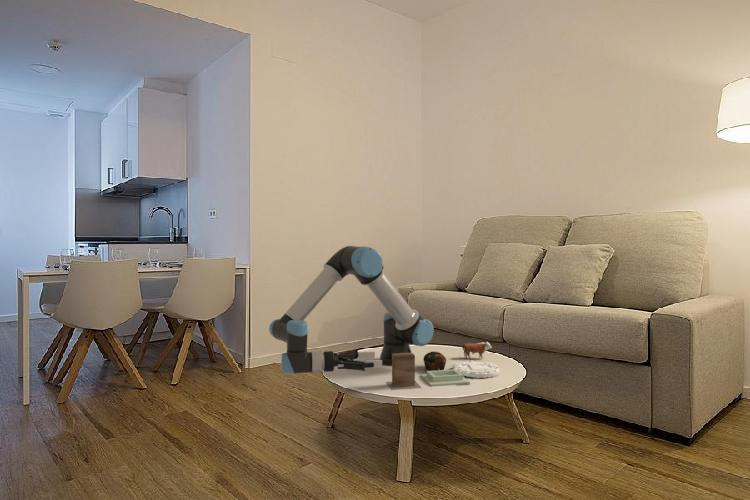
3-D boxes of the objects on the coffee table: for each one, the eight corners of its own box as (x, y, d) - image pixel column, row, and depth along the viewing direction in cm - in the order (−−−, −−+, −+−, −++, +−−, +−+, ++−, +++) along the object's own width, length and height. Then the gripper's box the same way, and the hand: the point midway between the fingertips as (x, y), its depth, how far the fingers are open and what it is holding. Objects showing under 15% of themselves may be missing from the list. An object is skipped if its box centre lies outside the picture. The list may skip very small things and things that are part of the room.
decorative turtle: (434, 375, 216) (432, 356, 216) (417, 368, 230) (416, 350, 230) (454, 371, 220) (452, 353, 220) (436, 365, 234) (435, 347, 234)
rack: (420, 376, 214) (420, 369, 214) (457, 374, 218) (457, 367, 217) (431, 387, 201) (431, 379, 201) (470, 384, 204) (470, 376, 204)
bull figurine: (491, 360, 240) (492, 343, 239) (462, 359, 242) (462, 342, 241) (491, 358, 244) (491, 340, 243) (462, 356, 246) (462, 339, 246)
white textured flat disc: (501, 368, 228) (501, 362, 228) (497, 381, 209) (497, 374, 209) (455, 364, 234) (455, 358, 234) (448, 376, 215) (448, 369, 215)
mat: (385, 382, 206) (385, 382, 206) (414, 380, 209) (414, 380, 209) (391, 390, 197) (391, 389, 196) (421, 388, 199) (421, 387, 199)
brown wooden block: (392, 383, 204) (392, 353, 203) (411, 382, 206) (411, 352, 205) (394, 387, 200) (394, 356, 199) (414, 385, 201) (414, 355, 201)
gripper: (319, 363, 208) (371, 360, 212) (326, 381, 184) (385, 378, 188) (319, 344, 208) (371, 342, 212) (326, 360, 183) (385, 357, 188)
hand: (378, 359), depth 200 cm, fingers open, 13 cm apart
